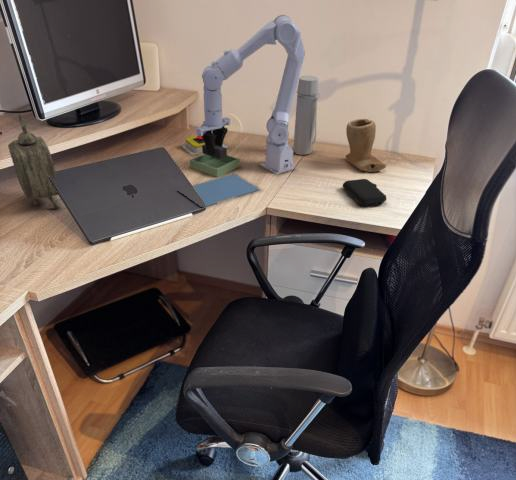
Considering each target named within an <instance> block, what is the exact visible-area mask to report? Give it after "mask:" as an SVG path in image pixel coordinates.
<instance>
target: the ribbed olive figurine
mask: <svg viewBox="0 0 516 480" xmlns="http://www.w3.org/2000/svg"><path fill="white" fill-rule="evenodd" d="M18 120H19V123H20V126H21V130H22V132H21V133H19V135H18V137H17V139H15V140H12V141H11V142H10V143H9V144H7V148H8V150H9V154H10V157H11V161H12V164H13V167H14V170H15V174H16V177H17V180H18V184H19V186H20V188H21V190H22V192H23V194H24V197H26V198H28V199H31V200H33V203H32V204H33V205H35V206H38V205H40V201H39V199H44V198H46V199H48V200H50V202H51V203H52V204H53V208H54V209H56V210H58V209H59V208H60V204H59V203H57V202H56V201H55V200H54V199H53V197H54V196H58V193H57V192H56V190H55V188H54V186H53V185H52V183H51V182H50V179H49V176H50V178H51V177H52V178H57V179H58V176H57V173H56V169H55V164H54V162H53V158H52V154H51V151H50V148H49V146H48V144H47V143H46V142H45V139H43V137H42V136H41V135H39V136H37V135H35V134H34V133H33V132H31V131H28V128H27V125H26V122H25V119H24V117H23V115H22V114H21V113H19V114H18Z"/></svg>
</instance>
